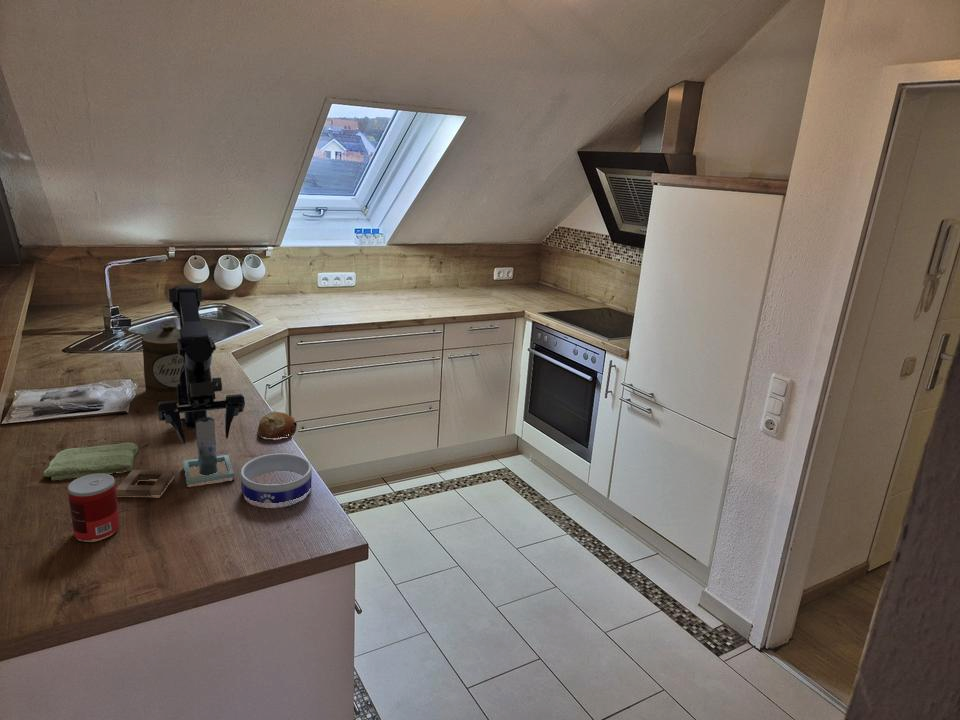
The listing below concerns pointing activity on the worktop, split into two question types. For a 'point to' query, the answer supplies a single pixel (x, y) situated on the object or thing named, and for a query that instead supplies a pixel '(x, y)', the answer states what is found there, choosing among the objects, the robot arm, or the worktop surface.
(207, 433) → the steel pin
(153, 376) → the wooden container
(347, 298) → the worktop surface
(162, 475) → the walnut collar
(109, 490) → the canned food
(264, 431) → the bread roll
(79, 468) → the washcloth
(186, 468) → the cradle tray
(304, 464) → the dog bowl
